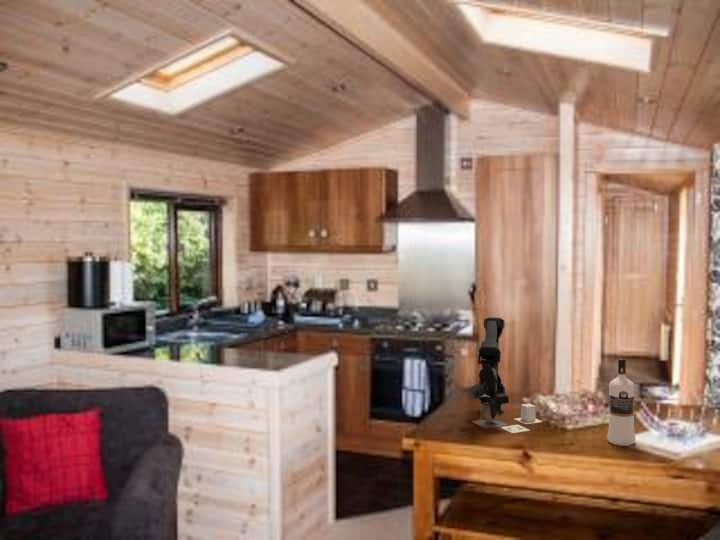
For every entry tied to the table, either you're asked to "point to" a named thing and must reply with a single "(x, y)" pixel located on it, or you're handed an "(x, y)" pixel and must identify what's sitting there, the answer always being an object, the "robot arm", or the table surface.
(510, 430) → the cream glyph tile
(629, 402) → the vodka
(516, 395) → the table surface
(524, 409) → the beige block
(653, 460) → the table surface
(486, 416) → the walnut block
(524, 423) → the code tile
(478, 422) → the slate coaster
